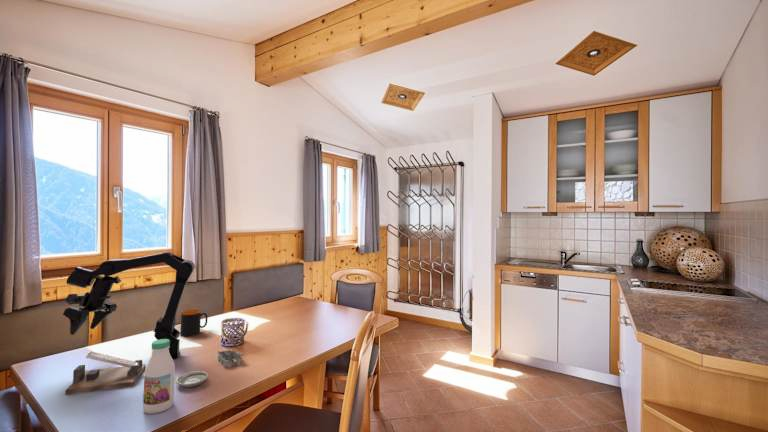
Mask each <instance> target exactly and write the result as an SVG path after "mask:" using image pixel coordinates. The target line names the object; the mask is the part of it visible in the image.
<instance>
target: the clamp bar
mask: <svg viewBox="0 0 768 432" xmlns="http://www.w3.org/2000/svg"><path fill="white" fill-rule="evenodd" d="M85 358H86V359H90V360H94V361H98V362H103V363H108V364H111V365H116V366H119V367H129V368H131V366H132V365H140V362H135V361H133V360H129V359H125V358H121V357H116V356H112V355H109V354H104V353H100V352H94V351H90V352H89V353H87V355H86V356H85Z"/></svg>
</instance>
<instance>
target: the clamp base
mask: <svg viewBox="0 0 768 432" xmlns="http://www.w3.org/2000/svg"><path fill="white" fill-rule="evenodd" d="M134 362H140V365H132V366H131V368H129V367H124V366H116V367H115V366H114V367H108V368H107V367H105V368H99V369H89V370H88V369H87V370H86V364H80V365H79V364H78V366H76V367H75V369H74V370H73V373H72V376H73V377H72V383H71V384H69V386H68V387H67V388H65V390H64V394H65V395H72V394H80V393H88V392H89V393H90V392H95V391H103V390H104V391H105V390H111V389H113V390H114V389H120V388H121V389H122V388H127V387H133V386H135V384H136V383H137V381H138V379H139V378H140V377H141V376H142V374H143V372H145V369H146V366H147V363H143V359H136V360H135V361H134Z"/></svg>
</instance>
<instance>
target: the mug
mask: <svg viewBox="0 0 768 432" xmlns="http://www.w3.org/2000/svg"><path fill="white" fill-rule="evenodd" d="M203 315H204V317H205V322H204V324H203V325H201V318H202V316H203ZM207 325H208V314H207V313H206V312H201V310H197V309H193V310H186V311H182V312H181V314H180V330H179V332H180V335H179V336H180V337H184V338H189V337H190V338H191V337H194V336H198V335H199V334H201V329H203V328H205V327H206V326H207Z"/></svg>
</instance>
